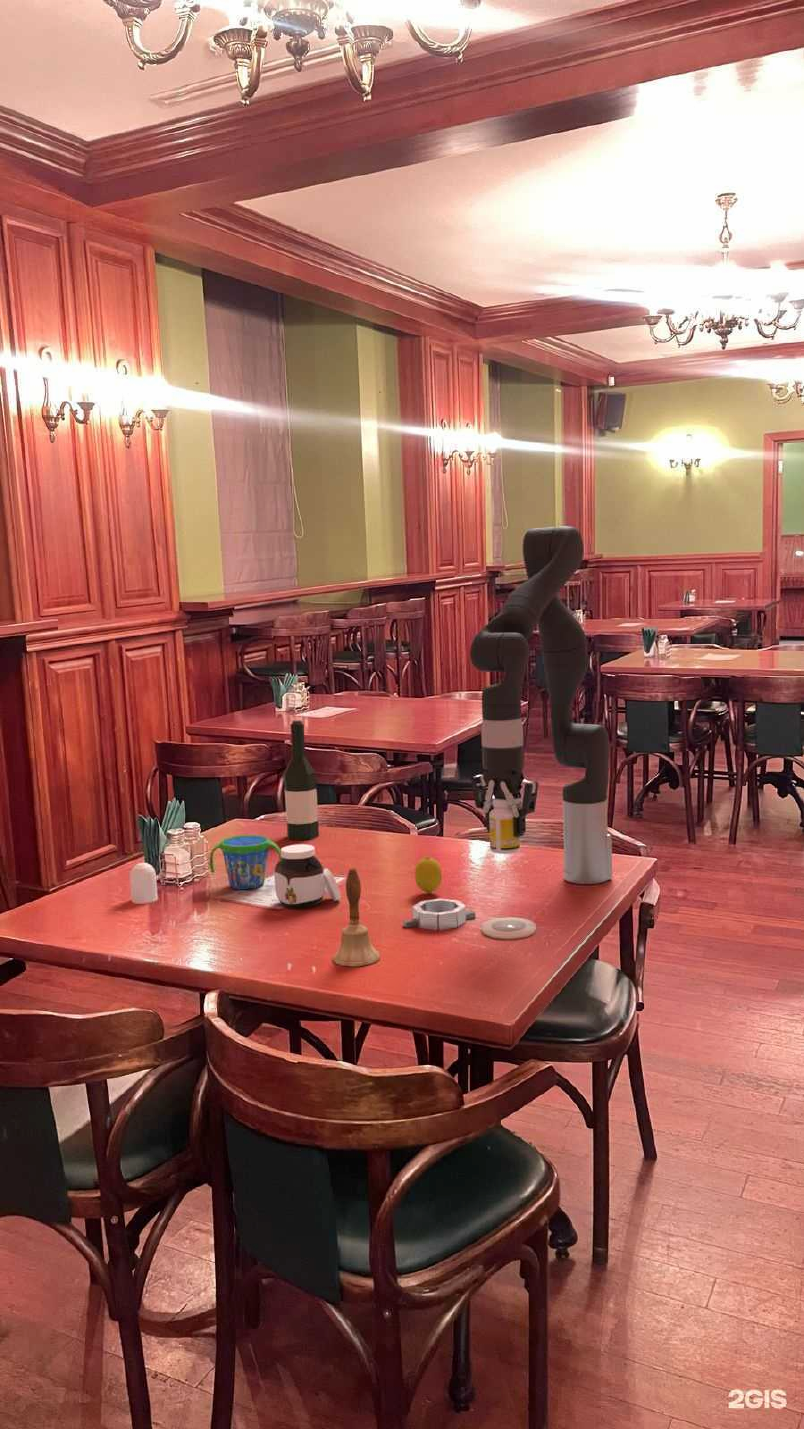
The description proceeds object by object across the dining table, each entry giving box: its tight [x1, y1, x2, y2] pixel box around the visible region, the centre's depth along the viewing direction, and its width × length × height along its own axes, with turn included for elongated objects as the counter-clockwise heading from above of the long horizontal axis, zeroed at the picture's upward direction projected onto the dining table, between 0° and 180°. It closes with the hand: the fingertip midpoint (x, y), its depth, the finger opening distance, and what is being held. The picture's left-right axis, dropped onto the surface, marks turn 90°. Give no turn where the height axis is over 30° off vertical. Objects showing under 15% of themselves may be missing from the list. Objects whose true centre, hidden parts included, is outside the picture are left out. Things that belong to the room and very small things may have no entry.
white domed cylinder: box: [129, 862, 159, 905], centre depth 234 cm, size 5×5×8 cm
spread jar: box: [274, 843, 342, 910], centre depth 227 cm, size 12×11×12 cm
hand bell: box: [332, 868, 381, 968], centre depth 192 cm, size 8×8×16 cm
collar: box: [402, 898, 476, 931], centre depth 211 cm, size 14×9×3 cm
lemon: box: [414, 856, 443, 895], centre depth 229 cm, size 6×6×8 cm
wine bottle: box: [283, 719, 320, 841], centre depth 283 cm, size 8×8×30 cm
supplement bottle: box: [489, 798, 521, 855], centre depth 202 cm, size 5×5×10 cm
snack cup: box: [208, 834, 282, 890], centre depth 241 cm, size 16×10×10 cm
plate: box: [481, 917, 537, 940], centre depth 205 cm, size 10×10×1 cm
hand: (505, 833), depth 203 cm, fingers closed on supplement bottle, 5 cm apart
